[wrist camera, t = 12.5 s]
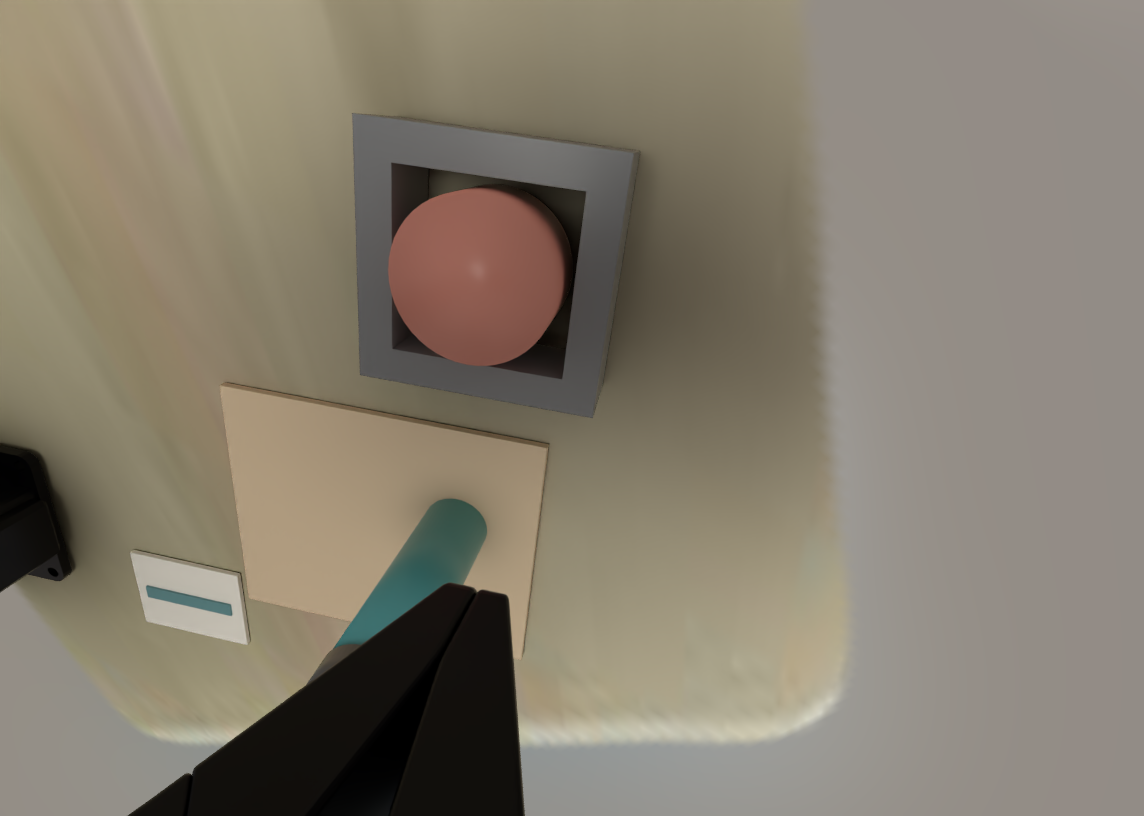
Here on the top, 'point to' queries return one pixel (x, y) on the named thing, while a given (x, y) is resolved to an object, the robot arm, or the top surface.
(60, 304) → the top surface
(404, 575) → the marker
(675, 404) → the top surface
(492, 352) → the button
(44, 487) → the robot arm
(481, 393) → the button housing
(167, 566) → the card
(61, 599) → the top surface
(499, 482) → the beige rectangular board
